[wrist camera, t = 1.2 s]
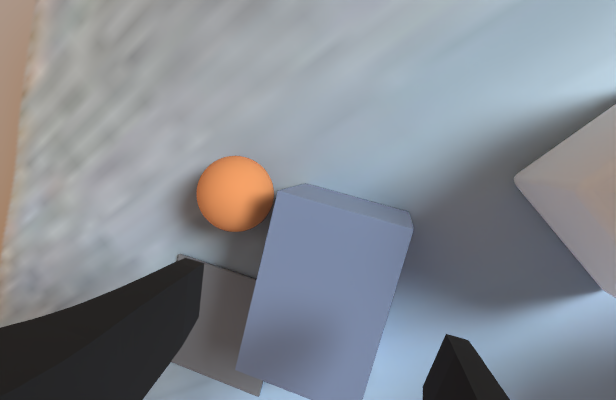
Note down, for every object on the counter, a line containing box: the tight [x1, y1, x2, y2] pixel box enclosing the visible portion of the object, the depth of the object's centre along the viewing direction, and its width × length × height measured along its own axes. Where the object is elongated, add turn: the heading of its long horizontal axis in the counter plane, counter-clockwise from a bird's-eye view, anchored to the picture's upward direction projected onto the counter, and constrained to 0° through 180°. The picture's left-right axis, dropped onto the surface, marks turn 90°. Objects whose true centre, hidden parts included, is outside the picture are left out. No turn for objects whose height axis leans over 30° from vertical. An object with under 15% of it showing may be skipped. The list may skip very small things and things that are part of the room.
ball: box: [197, 156, 274, 232], centre depth 20 cm, size 4×4×4 cm
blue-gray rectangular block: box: [235, 183, 414, 400], centre depth 19 cm, size 9×6×5 cm
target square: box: [171, 254, 263, 397], centre depth 23 cm, size 7×7×1 cm
